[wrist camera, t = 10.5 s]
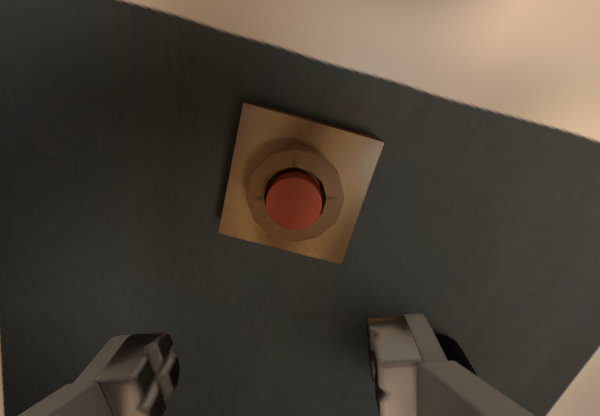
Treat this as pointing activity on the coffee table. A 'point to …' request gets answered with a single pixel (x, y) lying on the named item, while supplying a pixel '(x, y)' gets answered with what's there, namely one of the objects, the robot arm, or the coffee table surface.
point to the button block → (305, 158)
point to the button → (294, 200)
